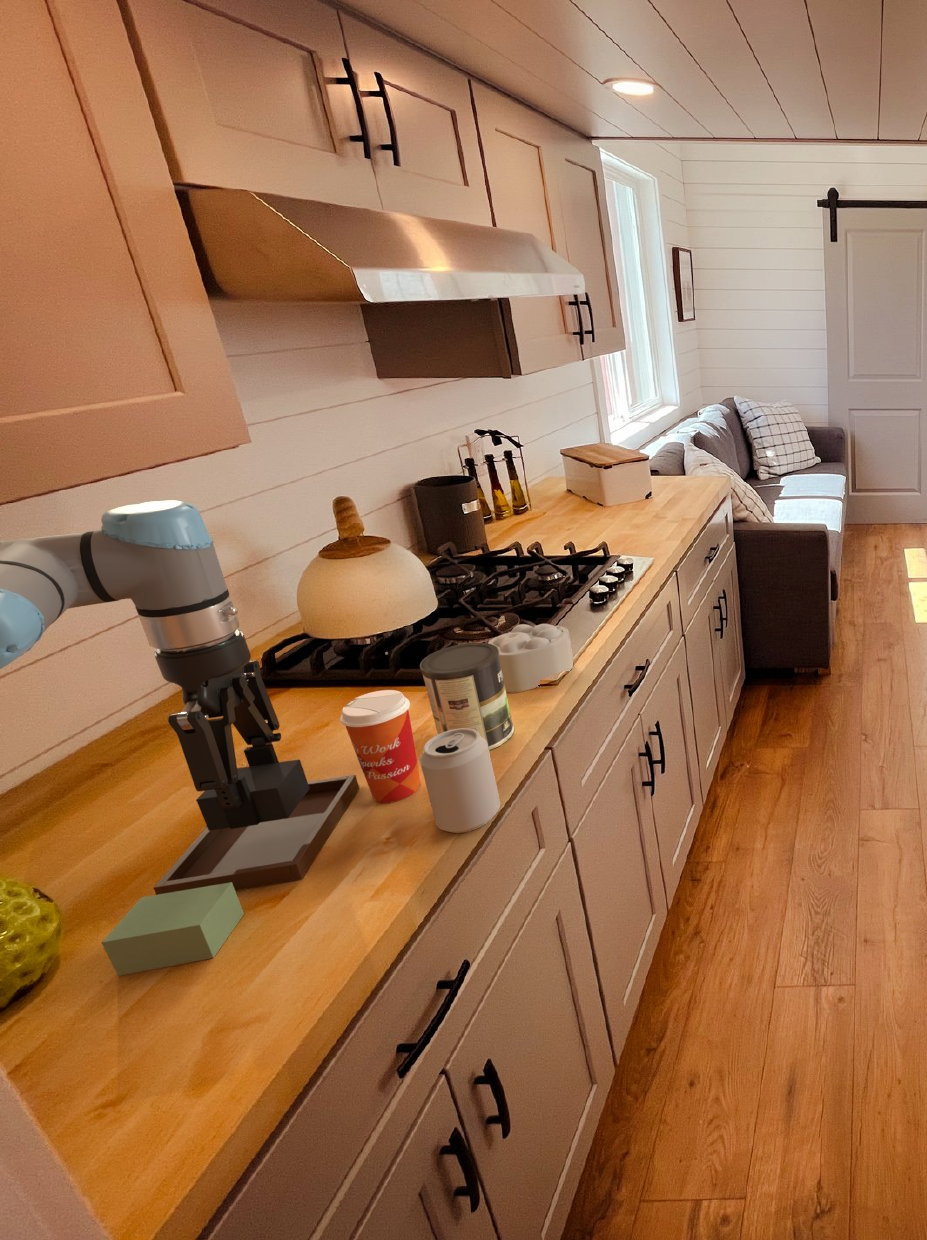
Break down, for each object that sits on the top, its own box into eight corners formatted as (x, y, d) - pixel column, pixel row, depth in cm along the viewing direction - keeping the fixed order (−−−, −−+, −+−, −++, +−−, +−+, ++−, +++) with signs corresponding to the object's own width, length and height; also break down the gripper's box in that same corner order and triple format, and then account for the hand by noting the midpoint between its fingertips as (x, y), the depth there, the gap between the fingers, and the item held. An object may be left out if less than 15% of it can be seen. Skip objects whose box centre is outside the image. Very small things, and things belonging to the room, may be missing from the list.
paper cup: (350, 808, 96) (323, 718, 92) (386, 773, 104) (362, 688, 99) (410, 807, 97) (386, 717, 92) (441, 772, 104) (420, 687, 99)
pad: (117, 976, 72) (100, 942, 71) (155, 929, 78) (141, 897, 76) (213, 958, 74) (199, 925, 73) (244, 913, 80) (232, 882, 78)
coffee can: (503, 712, 119) (487, 635, 114) (523, 739, 112) (507, 658, 107) (432, 736, 113) (412, 655, 108) (448, 765, 106) (428, 680, 101)
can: (423, 834, 92) (401, 754, 88) (463, 797, 99) (445, 721, 95) (476, 840, 91) (458, 760, 87) (513, 802, 98) (497, 726, 94)
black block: (208, 831, 85) (195, 799, 84) (235, 799, 91) (224, 769, 89) (287, 818, 88) (276, 788, 86) (310, 788, 93) (300, 759, 91)
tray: (160, 903, 81) (153, 888, 80) (243, 805, 97) (237, 791, 96) (302, 879, 85) (296, 864, 84) (359, 788, 100) (355, 774, 100)
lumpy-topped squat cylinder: (489, 675, 131) (480, 632, 128) (561, 653, 140) (555, 612, 137) (509, 696, 124) (500, 651, 121) (584, 672, 133) (577, 629, 130)
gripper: (188, 673, 73) (256, 854, 82) (278, 603, 90) (328, 758, 99) (96, 683, 71) (176, 867, 80) (206, 609, 88) (262, 767, 97)
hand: (260, 806), depth 89 cm, fingers closed on black block, 6 cm apart
